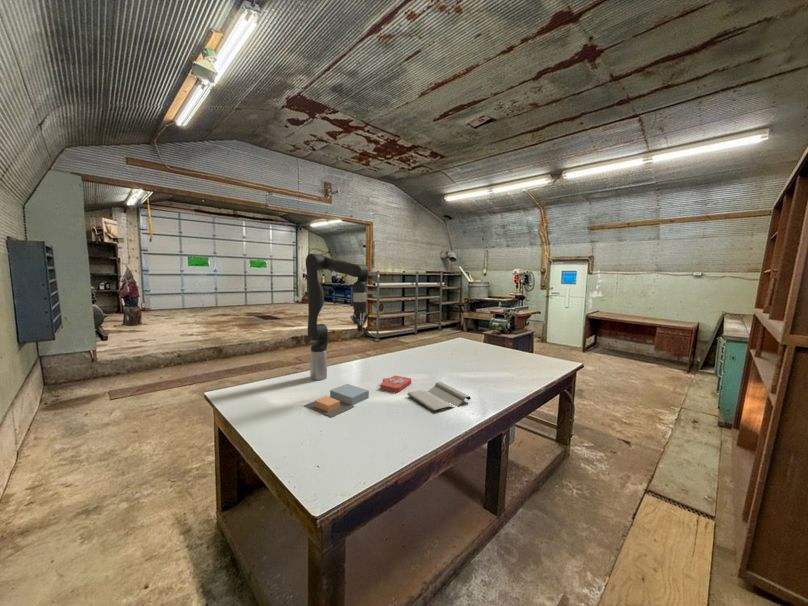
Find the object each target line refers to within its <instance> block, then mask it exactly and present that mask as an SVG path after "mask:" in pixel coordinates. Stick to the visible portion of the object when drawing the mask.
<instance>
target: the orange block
mask: <svg viewBox="0 0 808 606" xmlns="http://www.w3.org/2000/svg"><path fill="white" fill-rule="evenodd" d="M314 401H315V407H318V408H320V409H322V410H325V411H327V412H330V411H332V410H334V409H336V408H339V407H340V401H339V400H336V399H333V398H331V397H330V396H328V395H325V396H323V397H320V398H317V399H315V400H314Z"/></svg>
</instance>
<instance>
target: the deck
mask: <svg viewBox="0 0 808 606" xmlns="http://www.w3.org/2000/svg"><path fill="white" fill-rule="evenodd" d="M369 391H370V390H368V389H365V388H361V387H360V386H355V385H353V384H349V383H345V384H343V385H340V386H337V387H335V388H332V389H330V390H329V397H331V398H333V399H336V400H339V401H341V402H344V403H347V404H349V405H352V406H355V405H356V404H359V403H361V402H363V401H365V400H368V399H369V396H370V395H369Z"/></svg>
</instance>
